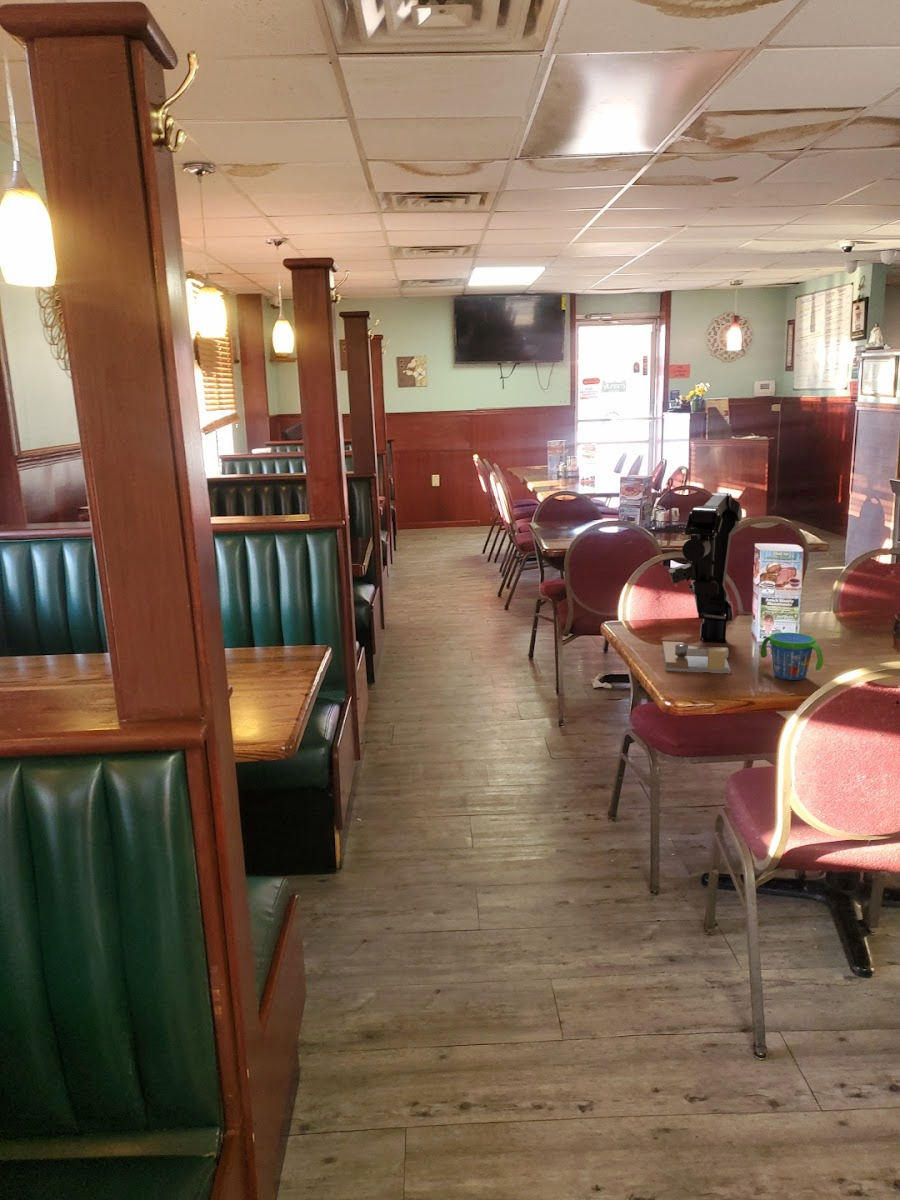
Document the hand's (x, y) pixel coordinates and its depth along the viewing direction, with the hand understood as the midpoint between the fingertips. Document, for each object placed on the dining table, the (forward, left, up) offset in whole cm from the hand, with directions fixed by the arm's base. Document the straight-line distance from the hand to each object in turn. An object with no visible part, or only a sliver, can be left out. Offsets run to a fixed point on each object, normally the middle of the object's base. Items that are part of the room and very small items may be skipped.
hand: (699, 612), depth 227 cm
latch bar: (0, +11, -9) cm, 14 cm away
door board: (+1, +5, -12) cm, 13 cm away
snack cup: (-21, +15, -12) cm, 29 cm away
